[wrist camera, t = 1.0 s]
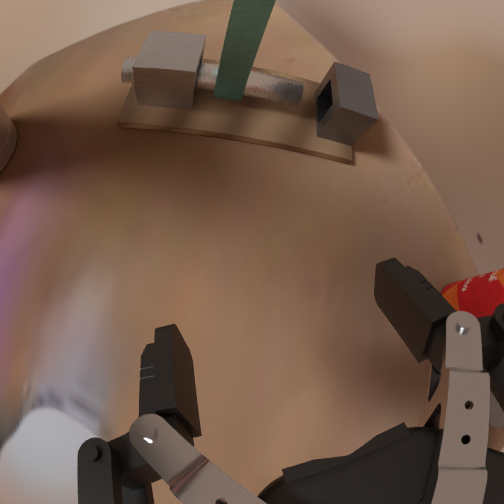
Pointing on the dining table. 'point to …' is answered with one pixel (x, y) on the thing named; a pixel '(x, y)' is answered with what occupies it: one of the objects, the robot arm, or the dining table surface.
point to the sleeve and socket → (191, 53)
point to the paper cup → (477, 293)
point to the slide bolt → (240, 61)
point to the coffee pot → (495, 413)
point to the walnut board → (242, 120)
